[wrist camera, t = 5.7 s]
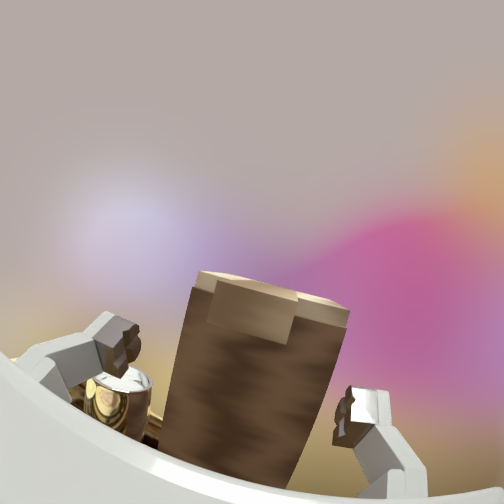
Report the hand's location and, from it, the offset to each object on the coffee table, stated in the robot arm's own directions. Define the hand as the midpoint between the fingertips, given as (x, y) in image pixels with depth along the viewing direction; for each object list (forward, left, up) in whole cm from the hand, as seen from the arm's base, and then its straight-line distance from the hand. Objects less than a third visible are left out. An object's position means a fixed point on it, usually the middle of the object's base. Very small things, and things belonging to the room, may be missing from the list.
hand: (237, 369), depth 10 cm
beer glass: (+12, -14, -25) cm, 31 cm away
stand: (0, -16, -25) cm, 29 cm away
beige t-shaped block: (0, -11, +1) cm, 11 cm away
